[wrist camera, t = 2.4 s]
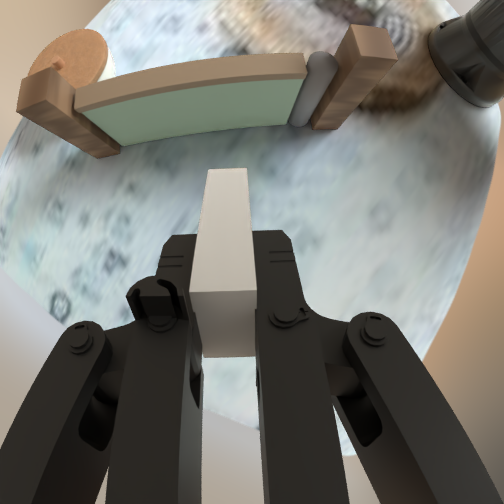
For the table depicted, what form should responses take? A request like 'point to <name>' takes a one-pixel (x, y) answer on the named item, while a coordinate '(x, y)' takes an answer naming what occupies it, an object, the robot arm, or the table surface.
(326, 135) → the table surface
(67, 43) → the lidded jar
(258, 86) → the gate
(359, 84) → the gate posts
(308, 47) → the table surface
